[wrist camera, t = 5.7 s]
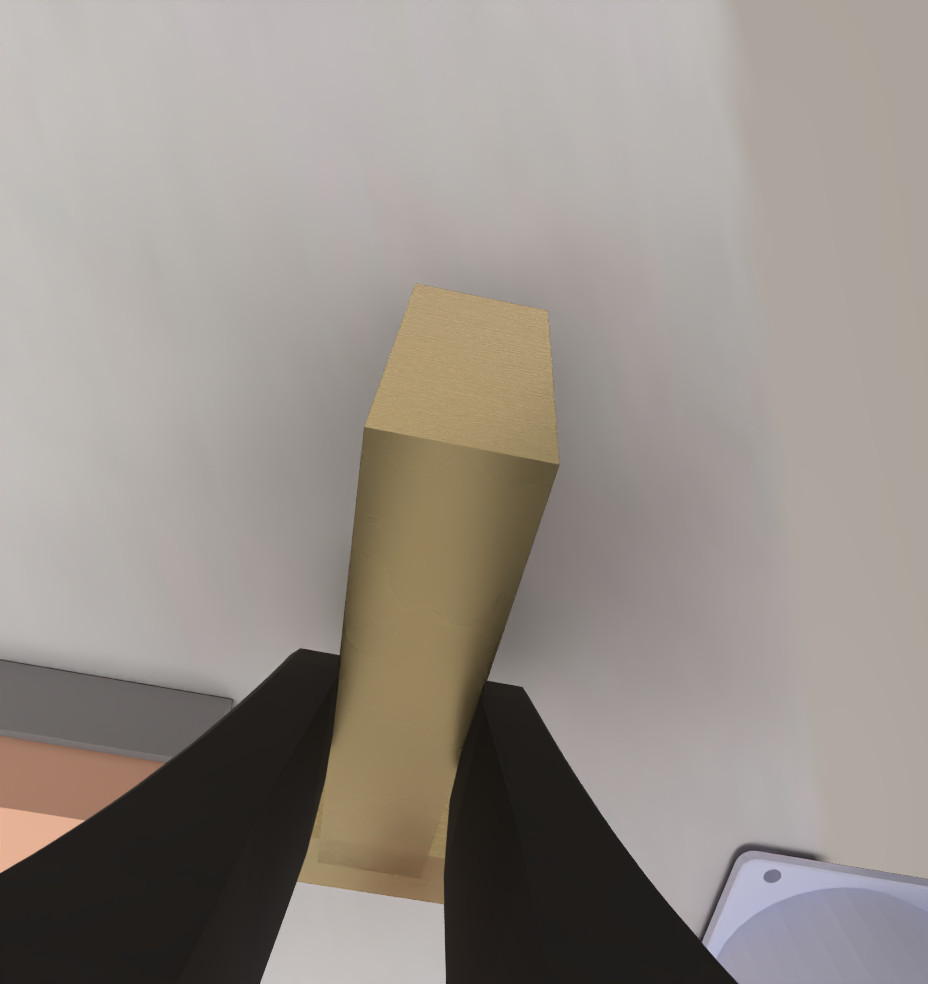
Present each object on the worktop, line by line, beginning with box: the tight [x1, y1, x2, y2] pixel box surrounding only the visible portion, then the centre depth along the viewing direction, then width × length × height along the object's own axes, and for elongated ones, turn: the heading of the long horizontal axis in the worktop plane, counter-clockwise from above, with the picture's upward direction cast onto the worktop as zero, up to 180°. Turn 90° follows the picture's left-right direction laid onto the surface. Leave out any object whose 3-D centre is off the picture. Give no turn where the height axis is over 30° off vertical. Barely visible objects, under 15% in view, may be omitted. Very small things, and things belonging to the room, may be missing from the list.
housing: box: [0, 660, 232, 763], centre depth 19 cm, size 8×10×2 cm
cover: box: [0, 736, 165, 873], centre depth 16 cm, size 8×10×3 cm
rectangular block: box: [297, 284, 559, 904], centre depth 10 cm, size 10×4×4 cm, turn 169°
